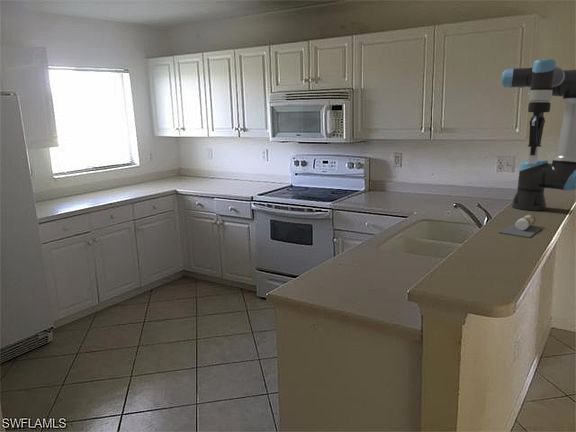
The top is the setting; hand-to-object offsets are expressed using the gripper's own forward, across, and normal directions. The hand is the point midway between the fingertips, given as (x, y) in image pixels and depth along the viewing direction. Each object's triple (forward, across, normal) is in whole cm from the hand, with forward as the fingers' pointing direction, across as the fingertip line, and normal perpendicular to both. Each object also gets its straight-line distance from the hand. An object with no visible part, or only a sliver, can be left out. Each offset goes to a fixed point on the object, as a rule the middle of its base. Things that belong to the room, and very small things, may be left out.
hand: (532, 163), depth 189 cm
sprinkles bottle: (+24, -7, 0) cm, 25 cm away
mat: (+26, +4, 0) cm, 27 cm away
